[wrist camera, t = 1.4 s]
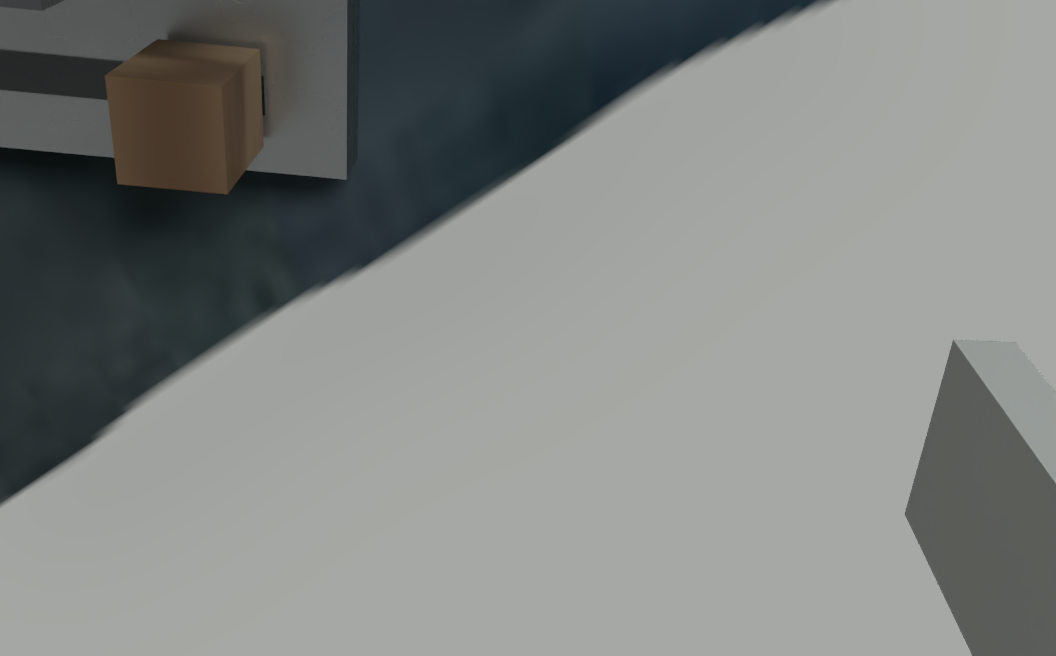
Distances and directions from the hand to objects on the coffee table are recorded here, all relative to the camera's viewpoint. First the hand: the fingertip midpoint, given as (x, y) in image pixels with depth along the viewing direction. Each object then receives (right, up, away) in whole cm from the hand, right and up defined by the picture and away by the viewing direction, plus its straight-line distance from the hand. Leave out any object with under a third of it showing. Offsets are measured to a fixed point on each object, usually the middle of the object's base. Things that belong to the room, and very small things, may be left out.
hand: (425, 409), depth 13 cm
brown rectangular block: (-8, +8, +17) cm, 21 cm away
